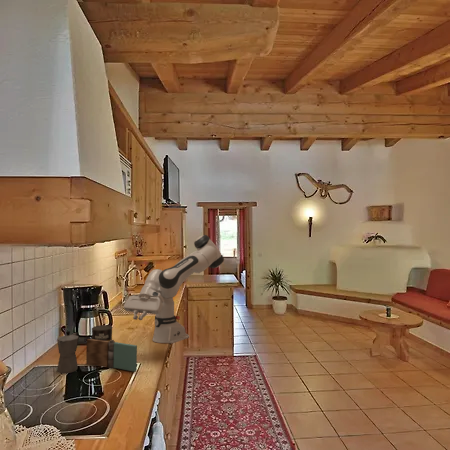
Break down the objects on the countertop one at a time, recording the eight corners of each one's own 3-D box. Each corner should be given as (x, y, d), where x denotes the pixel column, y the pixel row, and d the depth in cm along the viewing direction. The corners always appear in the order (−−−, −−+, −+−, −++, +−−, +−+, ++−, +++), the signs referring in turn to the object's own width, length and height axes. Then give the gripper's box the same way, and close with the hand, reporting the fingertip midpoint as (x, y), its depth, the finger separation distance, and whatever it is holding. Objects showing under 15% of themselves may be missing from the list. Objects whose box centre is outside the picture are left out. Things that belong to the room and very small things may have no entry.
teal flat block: (106, 367, 172) (107, 342, 172) (111, 364, 175) (111, 340, 175) (133, 372, 166) (134, 346, 166) (137, 369, 169) (137, 345, 169)
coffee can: (111, 356, 187) (112, 329, 187) (90, 358, 184) (90, 330, 184) (112, 350, 196) (112, 324, 197) (92, 351, 194) (92, 325, 194)
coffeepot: (68, 376, 162) (69, 336, 162) (49, 374, 163) (50, 334, 163) (86, 363, 177) (87, 326, 177) (69, 362, 178) (69, 325, 178)
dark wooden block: (85, 364, 175) (85, 338, 176) (89, 362, 178) (89, 336, 178) (112, 368, 171) (112, 341, 171) (116, 366, 174) (116, 339, 174)
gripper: (128, 291, 190) (116, 313, 181) (163, 293, 184) (153, 317, 175) (132, 298, 194) (121, 320, 185) (166, 301, 188) (157, 324, 179)
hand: (137, 319), depth 180 cm, fingers closed
